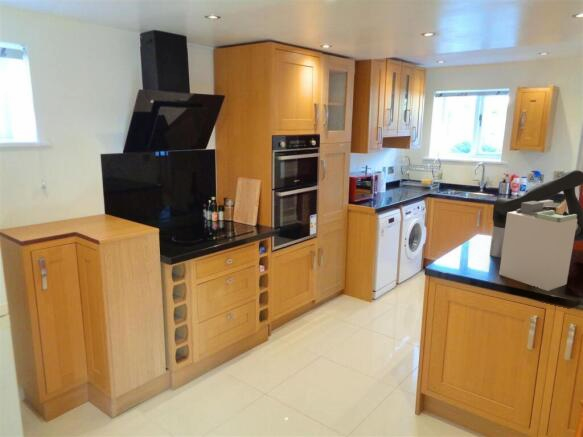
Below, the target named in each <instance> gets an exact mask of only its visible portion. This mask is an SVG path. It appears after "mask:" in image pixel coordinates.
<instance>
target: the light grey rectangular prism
mask: <svg viewBox="0 0 583 437" xmlns="http://www.w3.org/2000/svg"><path fill="white" fill-rule="evenodd" d="M551 206H554V200H552V199H546V200H543V201H538V202H537V201H529V202H523V203H522V204H521V211H520V213H524V214H529V215H530V212H534V211H540V210H544V208H545V207H546V208H548V207H551Z"/></svg>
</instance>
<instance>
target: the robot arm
mask: <svg viewBox="0 0 583 437" xmlns="http://www.w3.org/2000/svg"><path fill="white" fill-rule="evenodd" d="M581 185H583V171H581V170H579V169H578V170H577V169H574V170H569V171H567V172H565V173H563V174H562V175H561V176H560V177H558V178H555V179H552V180H548V181H545V182H542V183H539V184H536V185H534V186H531V187H530V188H528V189H527V190H526V191H525V192H524V194H523V195H521V196H519V197H516V198H512V199H510V198H506V197H498V198H496V200H495V201H494V203H493V207H492V208H493V209H492V223H493V225H492V235H491V239H490V240H491V241H490V248H489V256H491V257H494V258H495V257H496V258H500V259H501V256H502V249H503V241H504V233H505V226H506V218H507V212H513V211H517V209H521V204H522V203H523V202H529V201H537V202H538V201H544V200H549V199H550V198H552V197H554V196H556V195H557V194H559V193H561V192H563V196H564V199H565V203H566V206H567V207H566V208H567V211H563V213H559V212H557V211H554V214H558V215H563V216H568V215H573V214H577V218H576V219H577V225H576V231H575V237H574V242H573V243H575V242H583V206H582V204H581V202H580V201H579V199H578V197H577V195H576V187H579V186H581ZM545 210H547V211H550V210H551V209H550V208H548V207H546V208H545Z"/></svg>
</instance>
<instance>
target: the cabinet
mask: <svg viewBox="0 0 583 437" xmlns="http://www.w3.org/2000/svg"><path fill="white" fill-rule="evenodd" d="M520 211H521V209H517V211H513V212H507V218H506V226H505V233H504V241H503V249H502V256H501V258H500V263H499V264H500V265H499V274H498V275H500V276H503V277H504V278H508V279H511V280H514V281H516V282H517V281H518V282H519V283H523V284H527V285H529V286H532V287H534V286H535V288H537V287H538V288H537V289H539V290H540V289H541V290H543V291H547V292H549V291H551V290H555V289H557V288H560V287H562V286H565V285H567V283H568V276H569V271H570V265H571V259H572V254H573V253H572V252H573V248H574V243H575V242H574V237H575V231H576V225H577V219H576V218H577V214H573V215H568V216H563V215H558V214H554V212H556V211H555V210H553V209H550V211H547V210H546V209H543V210H540V211H534V212H530V215H529V214H524V213H520Z"/></svg>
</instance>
